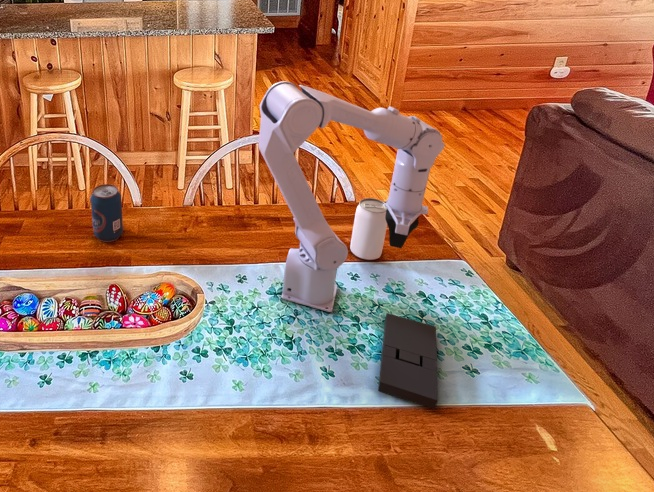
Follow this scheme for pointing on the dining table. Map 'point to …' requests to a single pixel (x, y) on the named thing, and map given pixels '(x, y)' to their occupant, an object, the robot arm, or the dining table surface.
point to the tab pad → (410, 339)
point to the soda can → (106, 212)
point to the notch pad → (408, 379)
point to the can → (369, 229)
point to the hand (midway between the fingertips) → (395, 245)
